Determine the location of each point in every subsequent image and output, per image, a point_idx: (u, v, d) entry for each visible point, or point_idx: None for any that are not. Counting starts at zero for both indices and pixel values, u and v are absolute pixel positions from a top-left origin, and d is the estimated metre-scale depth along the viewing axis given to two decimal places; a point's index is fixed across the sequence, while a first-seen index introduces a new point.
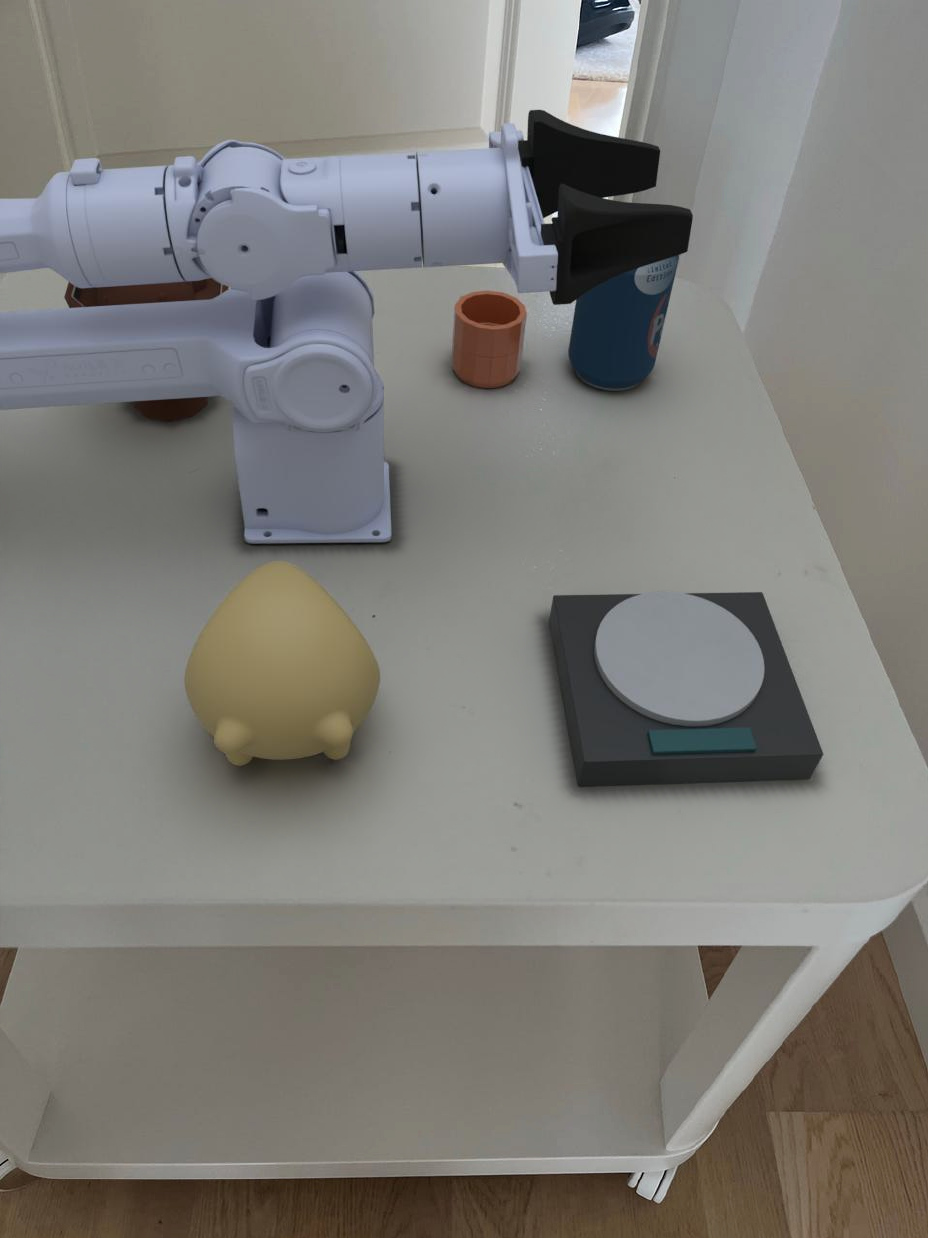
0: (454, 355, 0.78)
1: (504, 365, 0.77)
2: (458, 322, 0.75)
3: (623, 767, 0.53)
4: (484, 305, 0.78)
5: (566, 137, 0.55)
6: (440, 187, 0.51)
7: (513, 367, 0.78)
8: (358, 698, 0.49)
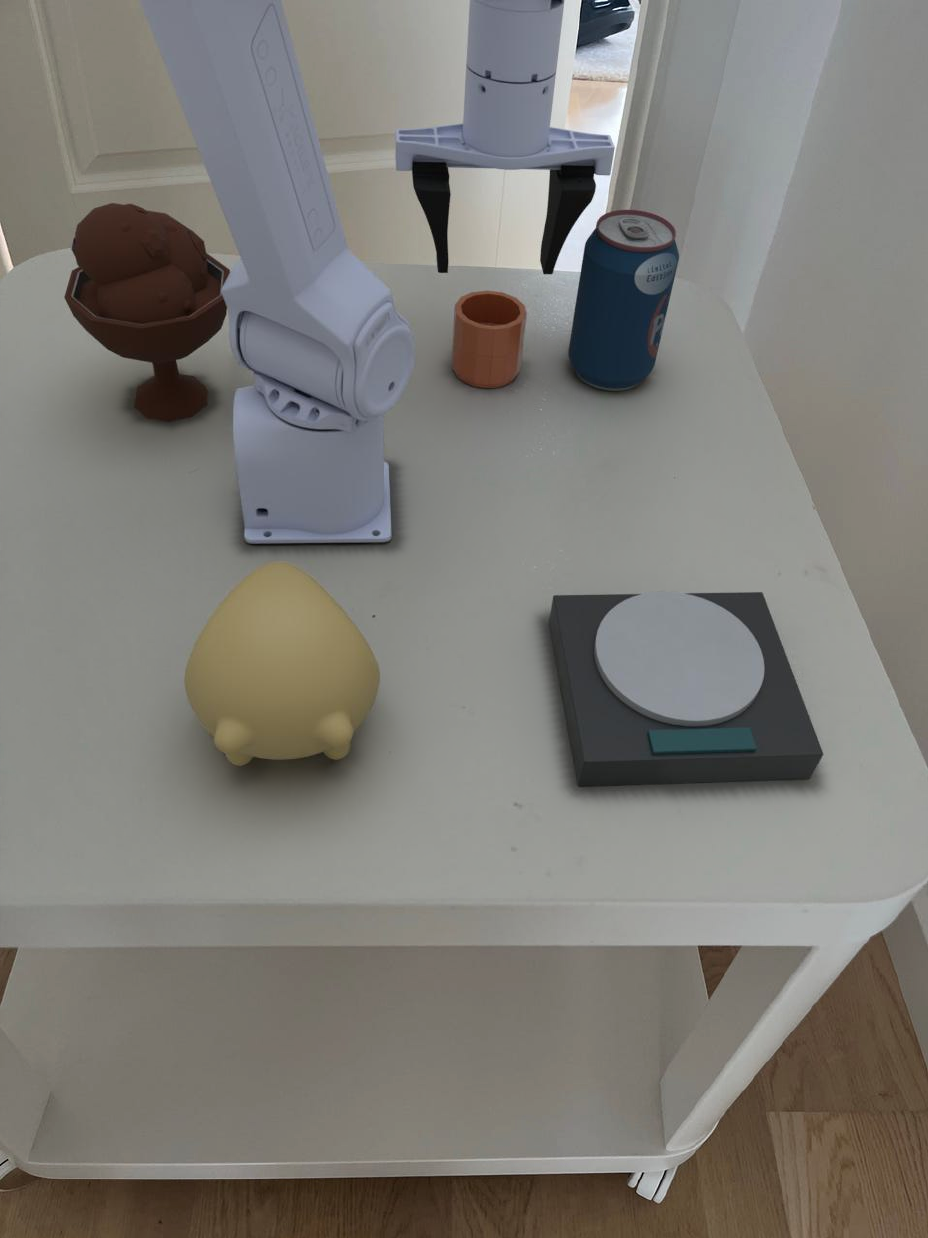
0: (454, 355, 0.78)
1: (504, 365, 0.77)
2: (458, 322, 0.75)
3: (623, 767, 0.53)
4: (484, 305, 0.78)
5: None
6: None
7: (513, 367, 0.78)
8: (358, 698, 0.49)
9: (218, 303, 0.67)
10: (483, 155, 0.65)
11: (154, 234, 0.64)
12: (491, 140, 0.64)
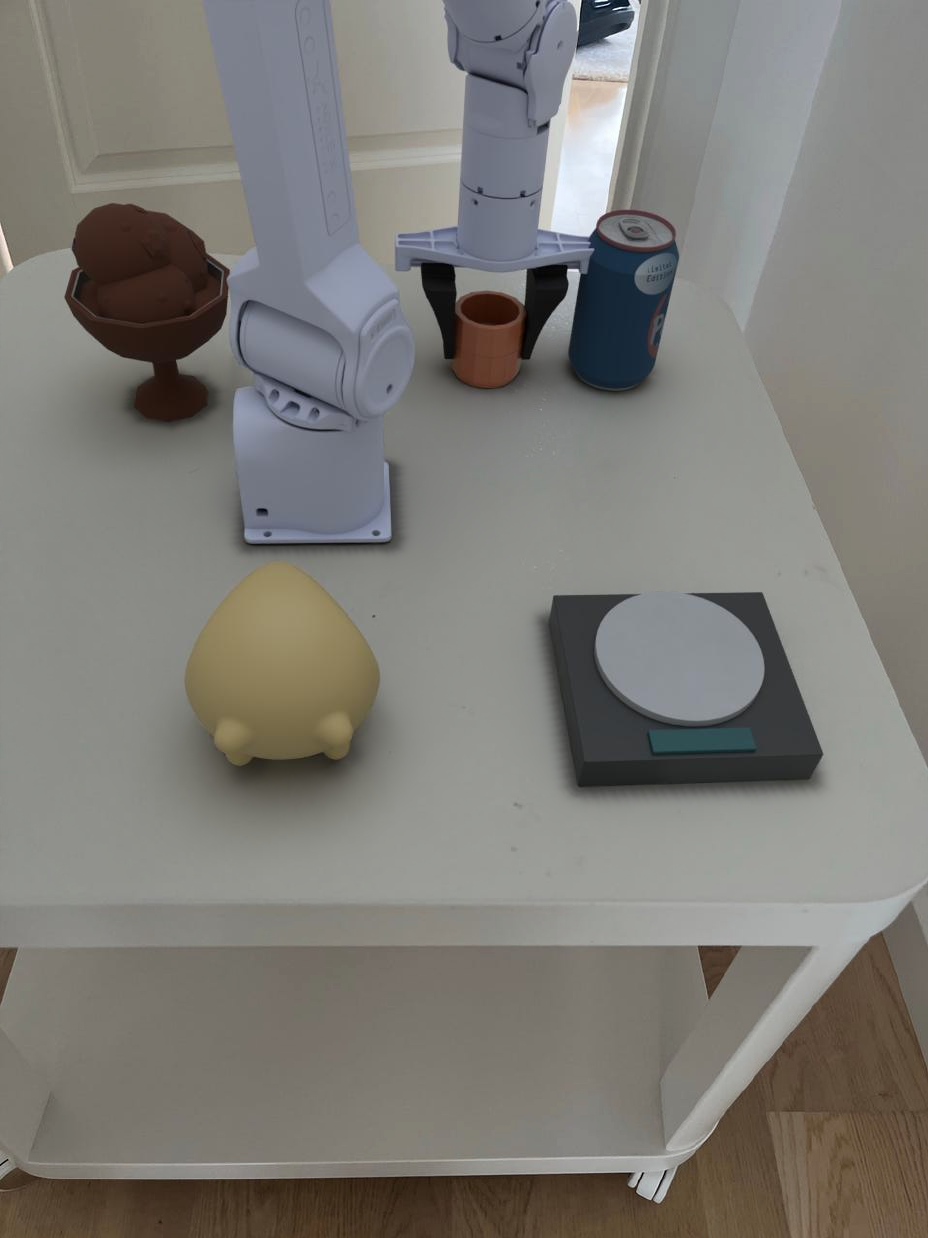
0: None
1: (503, 365, 0.77)
2: (457, 322, 0.75)
3: (623, 767, 0.53)
4: (483, 305, 0.78)
5: None
6: None
7: (512, 367, 0.78)
8: (358, 698, 0.49)
9: (218, 303, 0.67)
10: (476, 259, 0.70)
11: (154, 234, 0.64)
12: (483, 247, 0.69)
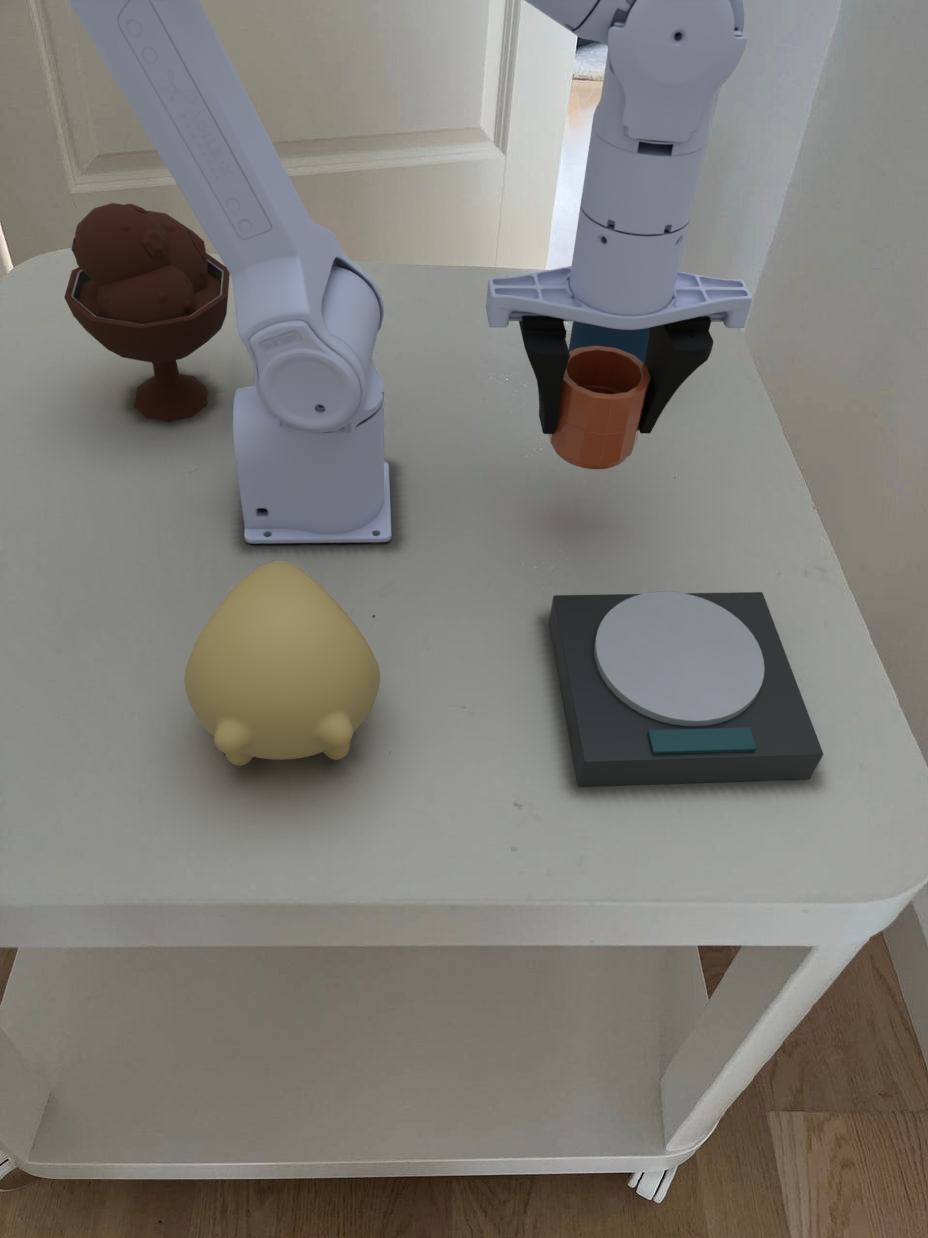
0: None
1: (620, 442, 0.60)
2: (564, 389, 0.59)
3: (623, 767, 0.53)
4: (592, 364, 0.61)
5: None
6: None
7: (630, 443, 0.61)
8: (358, 698, 0.49)
9: (218, 303, 0.67)
10: (598, 314, 0.53)
11: (154, 234, 0.64)
12: (609, 298, 0.53)
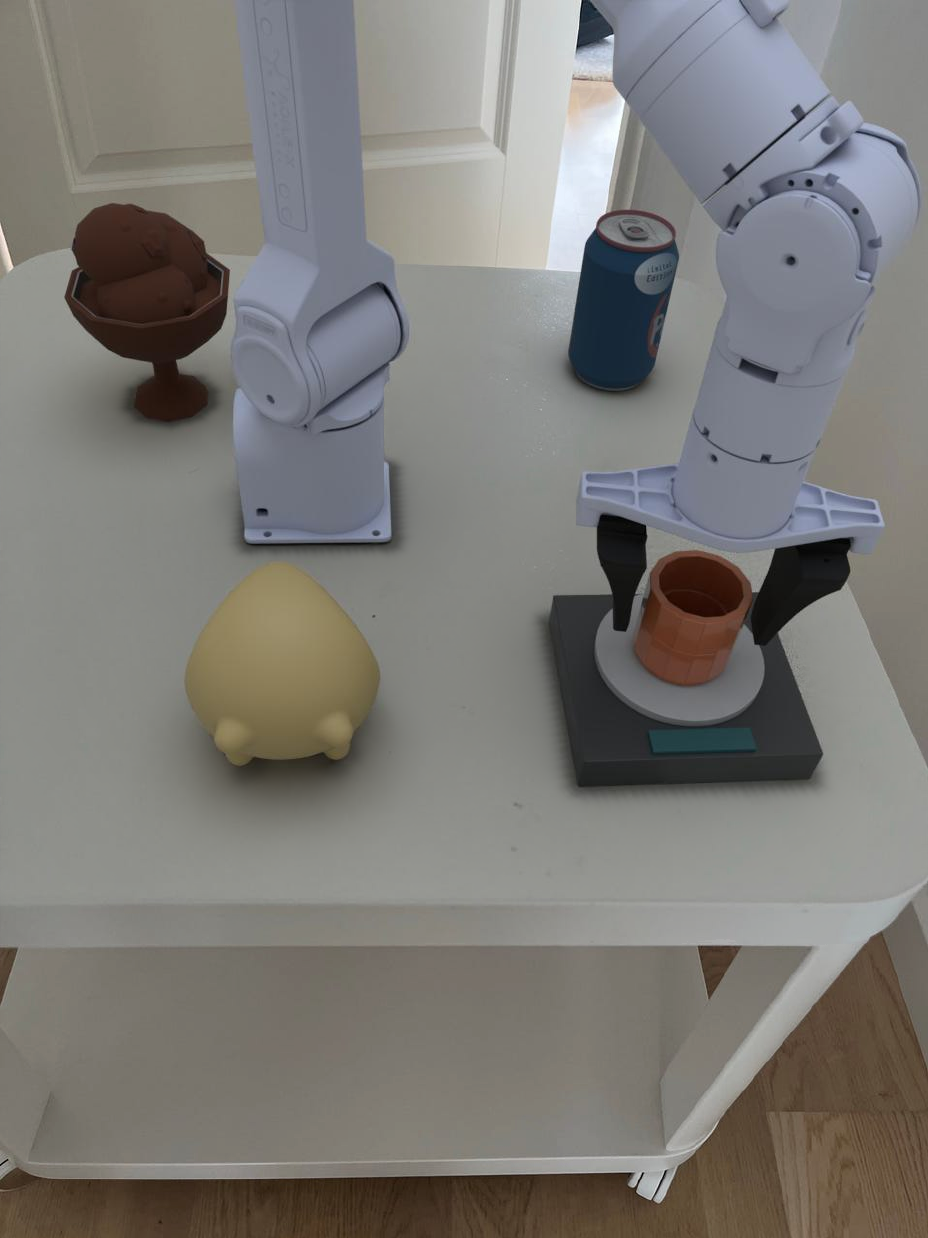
0: (639, 636, 0.55)
1: (710, 663, 0.54)
2: (653, 602, 0.53)
3: (623, 767, 0.53)
4: (690, 569, 0.55)
5: None
6: None
7: (722, 663, 0.54)
8: (358, 698, 0.49)
9: (218, 303, 0.67)
10: (700, 531, 0.47)
11: (154, 234, 0.64)
12: (714, 517, 0.46)
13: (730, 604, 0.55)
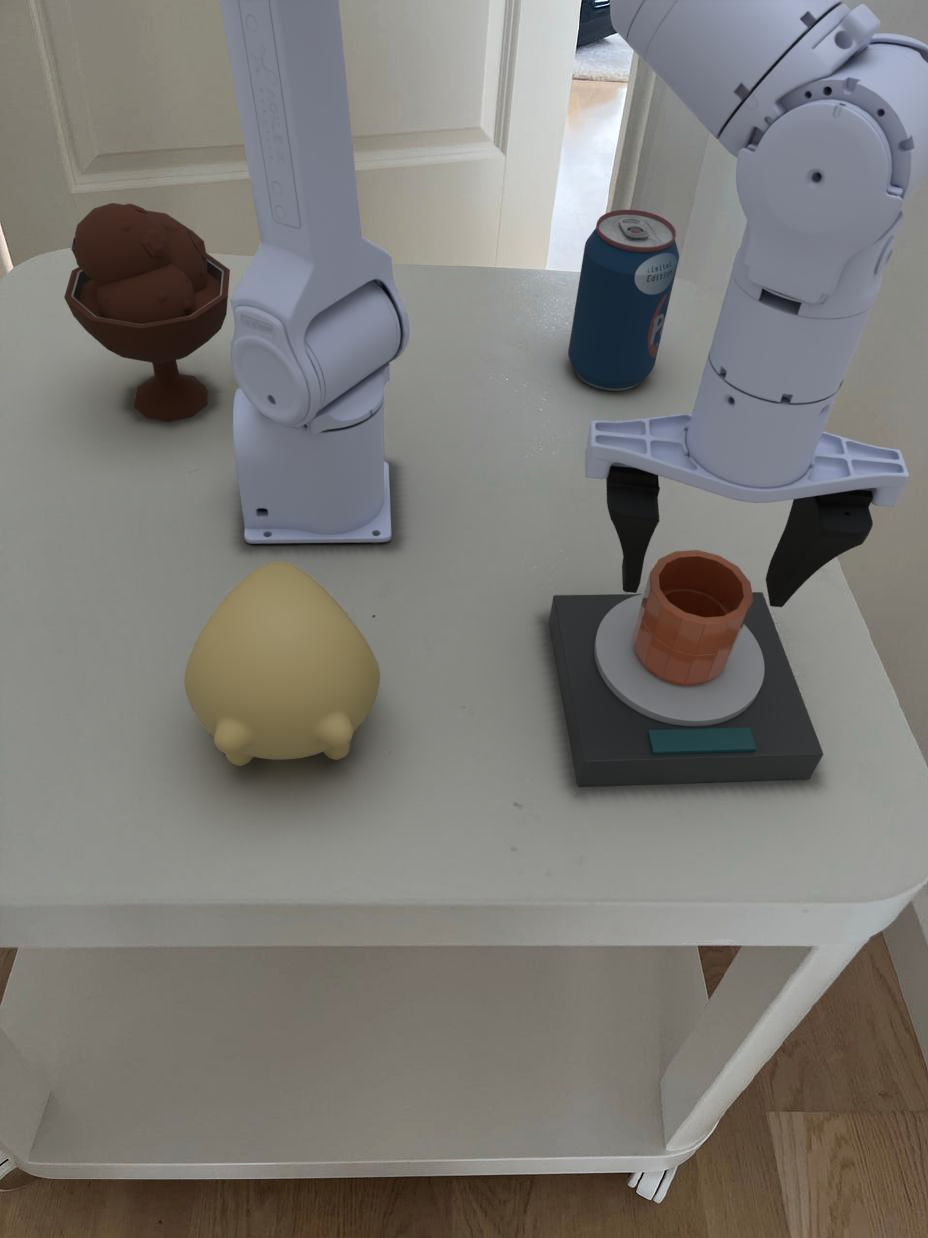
0: (639, 636, 0.55)
1: (710, 663, 0.54)
2: (653, 602, 0.53)
3: (623, 767, 0.53)
4: (690, 569, 0.55)
5: None
6: None
7: (722, 663, 0.54)
8: (358, 698, 0.49)
9: (218, 303, 0.67)
10: (715, 481, 0.45)
11: (154, 234, 0.64)
12: (731, 465, 0.44)
13: (730, 604, 0.55)
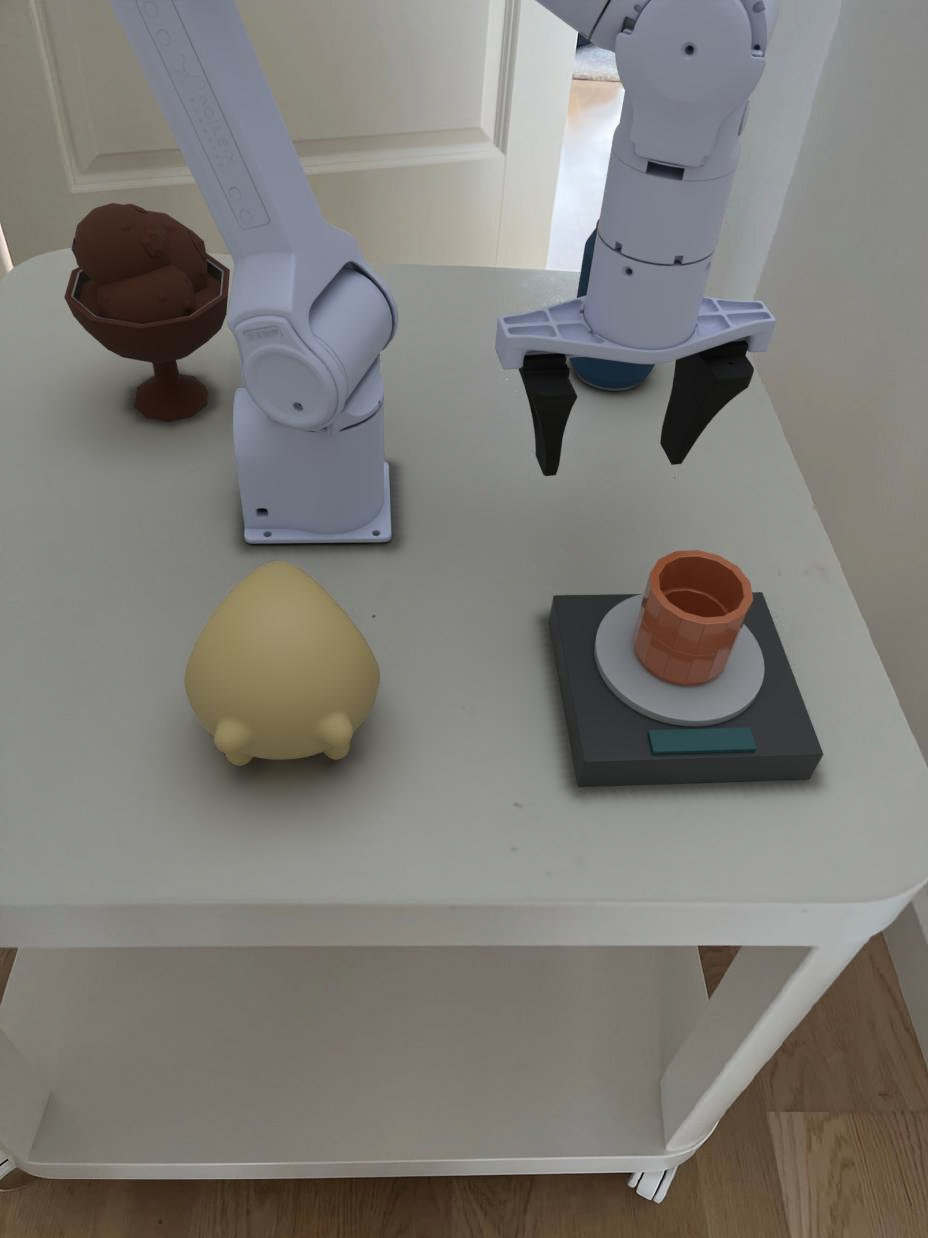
0: (639, 636, 0.55)
1: (710, 663, 0.54)
2: (653, 602, 0.53)
3: (623, 767, 0.53)
4: (690, 569, 0.55)
5: None
6: None
7: (722, 663, 0.54)
8: (358, 698, 0.49)
9: (218, 303, 0.67)
10: (623, 349, 0.49)
11: (154, 234, 0.64)
12: (635, 332, 0.49)
13: (730, 604, 0.55)
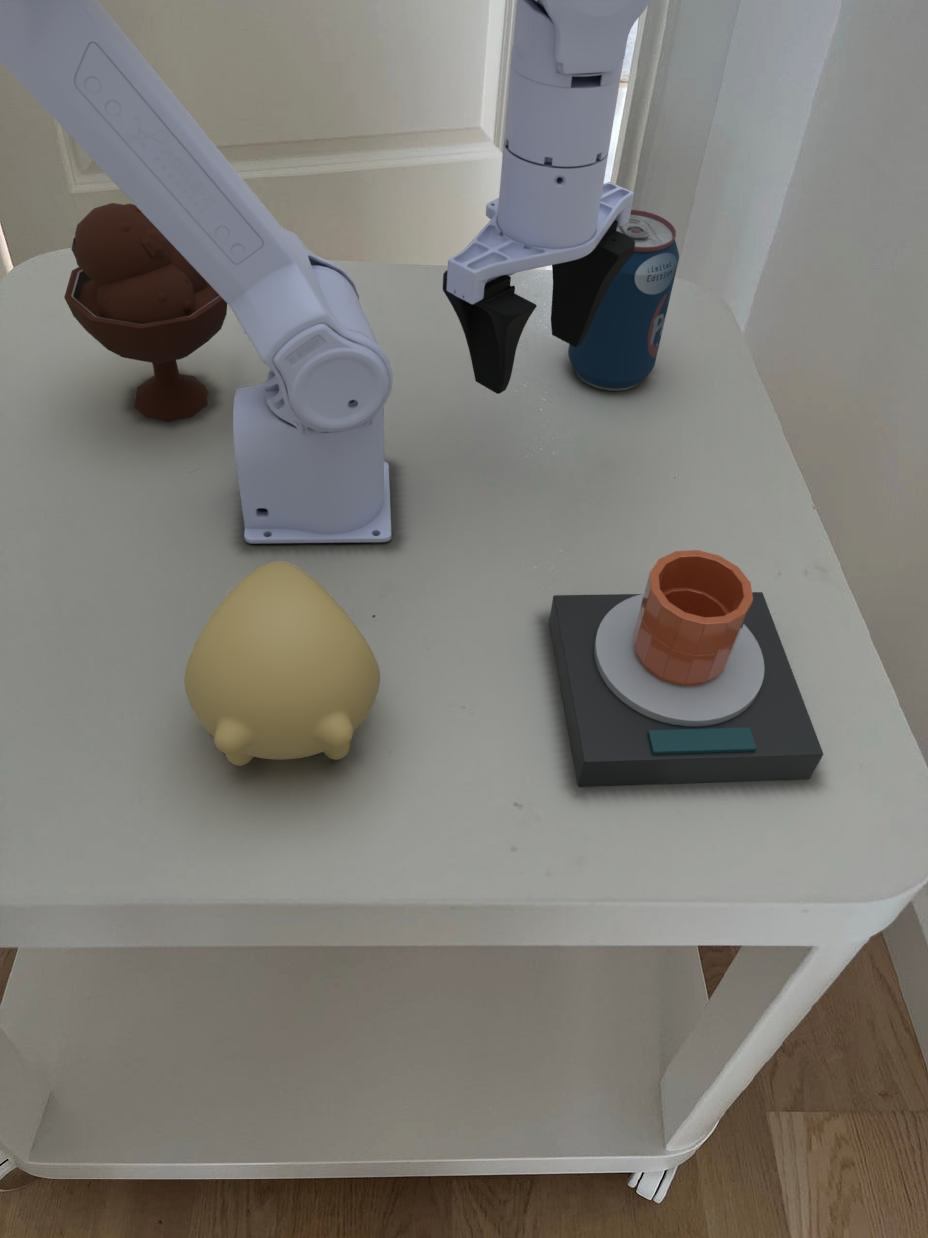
0: (639, 636, 0.55)
1: (710, 663, 0.54)
2: (653, 602, 0.53)
3: (623, 767, 0.53)
4: (690, 569, 0.55)
5: None
6: None
7: (722, 663, 0.54)
8: (358, 698, 0.49)
9: (218, 303, 0.67)
10: (562, 251, 0.56)
11: (154, 234, 0.64)
12: (570, 232, 0.55)
13: (730, 604, 0.55)
